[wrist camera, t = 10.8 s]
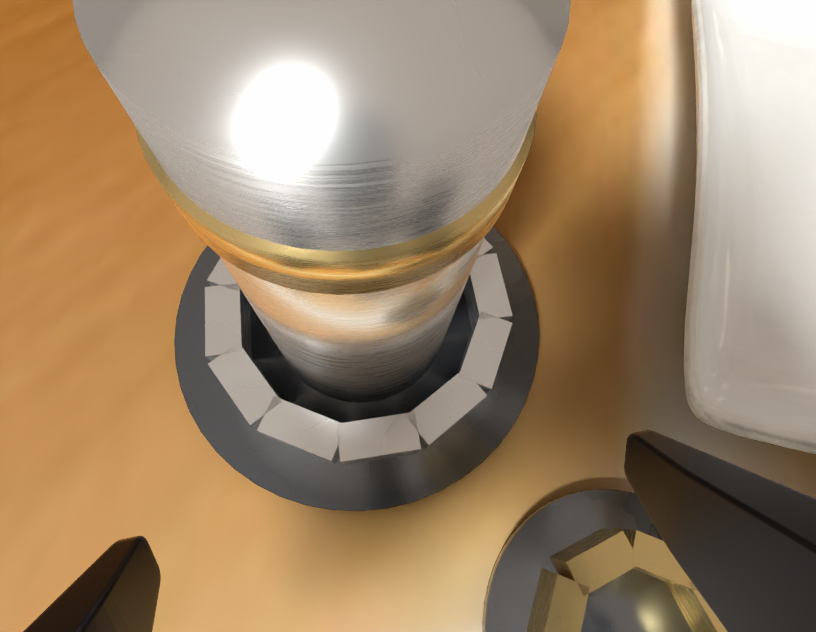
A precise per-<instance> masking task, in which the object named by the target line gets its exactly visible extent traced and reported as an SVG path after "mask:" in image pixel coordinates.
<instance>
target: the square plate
mask: <svg viewBox="0 0 816 632" xmlns="http://www.w3.org/2000/svg"><path fill="white" fill-rule="evenodd" d="M691 9H692V27H693V43H694V58H695V82H696V128H697V160H696V191H695V211H694V223H693V234H692V246H691V257H690V269H689V281H688V292H687V304H686V316H685V335H684V377H685V390H686V397H687V401H688V404H689V407H690V409H691V410H692V412H693V414H694V415H695V416H696V417H697V418H698V419H700V420H701V421H702V422H704V423H705V424H707V425H709V426H711V427H714V428H717V429H720V430H723V431H726V432H729V433H732V434H735V435H738V436H742V437H746V438H750V439H754V440H758V441H762V442H766V443H770V444H774V445H778V446H782V447H786V448H790V449H794V450H799V451H803V452H807V453H812V454H816V0H691Z"/></svg>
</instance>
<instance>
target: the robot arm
mask: <svg viewBox="0 0 816 632" xmlns="http://www.w3.org/2000/svg"><path fill="white" fill-rule="evenodd" d="M624 469H625V474H626V477H627V479H628V481H629V483H630V484H631V486H632V488H633V489H634V491H635V493H636V495H637V496H638V498H639V500H640V501H641V503H642V505H643V507H644V508H645V510H646V512H647V513H648V515H649V517H650V519H651V520H652V522H653V524H654V525H655V527H656V529H657V530H658V532H659V534H660V536H661V537H662V539H663V541H664V542H665V544H666V545H667V547H668V549H669V550H670V552H671V553H672V555H673V556H674V558H675V559H676V561H677V562H678V563H679V565H680V566H681V568H682V569H683V570H684V572H685V573H686V575H687V576H688V577H689V579H690V580H691V582H692V583H693V584H694V586H695V587H696V588H697V590H698V591H699V593H700V594H701V595H702V597H703V598H704V600H705V601H706V602H707V604H708V605H709V607H710V608H711V609H712V611H713V612H714V613H715V615H716V616H717V618H718V619H719V620H720V622H721V623H722V625H723V626H724V627H725V629H726V630H727V632H816V499H815V498H812V497H810V496H807V495H805V494H803V493H800V492H798V491H795V490H793V489H791V488H788V487H786V486H783V485H781V484H779V483H776V482H774V481H772V480H769V479H767V478H764V477H762V476H760V475H757V474H755V473H752V472H750V471H748V470H745V469H743V468H740V467H738V466H736V465H733V464H731V463H728V462H726V461H724V460H721V459H719V458H716V457H714V456H712V455H709V454H707V453H704V452H702V451H700V450H697V449H695V448H692V447H690V446H688V445H685V444H683V443H680V442H678V441H676V440H673V439H671V438H668V437H666V436H664V435H661V434H659V433H656V432H654V431H651V430H646V431H641V432H636V433H632V434H630V435H629V437H628V438H627V445H626V454H625V464H624ZM159 587H160V569H159V566H158V564H157V562H156V559H155V557H154V555H153V553H152V550H151V548H150V546H149V543H148V541H147V540H146V538H144V537H143V536H136V537H131V538H126V539H122V540H119V541H117V542H115V543H114V544H113V545H112V546H111V547H109V548H108V549H107V550H106V551H105V552H104V553H103V554H102V555H101V556H100V557H99V558H98V559H97V560H96V561H95V562H94V563H93V564H92V565H91V566H90V567H89V568H88V569H87V570H86V571H85V572H84V573H83V574H82V575H81V576H80V577H79V578H78V579H77V580H76V581H75V582H74V583H73V584H72V585H71V586H70V587H69V588H67V589H66V590H65V591H64V592H63V593H62V594H61V595H60V596H59V597H58V598H57V599H56V600H55V601H54V602H53V603H52V604H51V605H50V606H49V607H48V608H47V609H46V610H45V611H44V612H43V613H42V614H41V615H40V616H39V617H38V618H37V619H36V620H35V621H34V622H33V623H32V624H31V625H30V626H29V627H28V628H27V629H26V630H24V631H23V632H152V630H153V624H154V617H155V611H156V605H157V599H158V593H159Z"/></svg>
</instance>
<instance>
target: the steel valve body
mask: <svg viewBox="0 0 816 632" xmlns="http://www.w3.org/2000/svg"><path fill="white" fill-rule="evenodd" d="M73 7H74V14H75V20H76V23H77V26H78V29H79V32H80V35H81V37H82V40H83V43H84V45H85V46H86V48H87V50H88V52H89V53H90V55H91V57H92V58H93V60H94V62H95V63H96V65H97V67H98V68H99V70H100V71H101V73H102V75H103V76H104V78H105V79H106V81H107V82H108V84H109V85H110V87H111V89H112V90H113V92H114V93H115V95H116V96H117V98H118V99H119V101H120V102H121V104H122V106H123V107H124V109H125V110H126V112H127V113H128V115H129V116H130V118H131V120H132V121H133V123H134V124H135V126H136V130H137V136H138V140H139V142H140V145H141V148H142V150H143V153H144V156H145V159H146V160H147V162H148V164H149V165H150V167H151V169H152V171H153V172H154V174H155V176H156V177H157V179H158V181H159V182H160V183H161V185H162V186H163V188H164V189H165V191H166V192H167V194H168V195H169V197H170V198H171V200H172V201H173V203H174V204H175V205H176V207H177V208H178V210H179V211H180V213H181V214H182V216H183V217H184V219H185V220H186V222H187V223H188V224H189V225H190V227H191V228H192V229H193V230H194V232H195V233H196V234H197V235H198V236H199V238H200V239H201V240H202V241H203V242H204V243H205V244H207V245H208V246H209V247H210V248H211V249H212V250H213V251H214V252H216V253H217V254H218V255H219V256H220V258H221V259H222V261H223V263H224V264H225V266H226V267H227V269H228V270H229V272H230V273H231V275H232V277H233V278H234V280H235V281H236V283H237V284H238V286H239V287H240V289H241V291H242V292H243V294H244V295H245V297H246V298H247V300H248V301H249V303H250V305H251V306H252V308H253V309H254V311H255V312H256V314H257V315H258V317H259V319H260V320H261V322H262V323H263V325H264V326H265V328H266V329H267V331H268V333H269V334H270V336H271V337H272V339H273V340H274V342H275V343H276V345H277V347H278V348H279V350H280V351H281V353H282V354H283V356H284V357H285V359H286V360H287V362H288V364H289V365H290V367H291V368H292V370H293V371H294V372H295V373H296V374H297V376H298V377H299V378H300V379H301V380H302V381H304V382H305V383H306V384H307V385H308V386H310V387H311V388H313V389H314V390H315V391H317V392H319V393H321V394H323V395H325V396H328V397H331V398H334V399H336V400H341V401H346V402H357V403H362V402H374V401H379V400H383V399H386V398H389V397H392V396H395V395H397V394H399V393H401V392H403V391H405V390H406V389H408V388H409V387H411V386H412V385H414V384H415V383H416V382H417V381H418V380H419V379H421V378H422V376H423V375H424V374H425V373H426V372H427V371H428V369H429V368H430V367H431V365H432V364H433V362H434V360H435V358H436V356H437V354H438V352H439V350H440V347H441V345H442V342H443V340H444V337H445V335H446V332H447V330H448V327H449V325H450V322H451V320H452V317H453V315H454V312H455V310H456V307H457V305H458V302H459V300H460V297H461V295H462V292H463V290H464V288H465V285H466V283H467V280H468V278H469V275H470V273H471V270H472V268H473V265H474V263H475V260H476V258H477V255H478V253H479V250H480V248H481V245H482V243H483V240H484V238H485V235H486V234H487V233H488V232H489V231H490V230H491V228H492V227H493V225H494V224H495V222H496V221H497V220H498V218H499V217H500V215H501V214H502V212H503V209H504V207H505V205H506V203H507V201H508V199H509V197H510V195H511V193H512V190H513V188H514V186H515V183H516V181H517V179H518V176H519V174H520V172H521V169H522V167H523V165H524V162H525V160H526V158H527V155H528V153H529V150H530V147H531V143H532V140H533V137H534V133H535V124H536V116H537V106H538V104H539V101H540V99H541V96H542V94H543V91H544V89H545V86H546V84H547V81H548V79H549V76H550V74H551V71H552V69H553V66H554V64H555V61H556V59H557V56H558V54H559V51H560V49H561V46H562V44H563V40H564V37H565V34H566V30H567V27H568V23H569V13H570V0H73Z"/></svg>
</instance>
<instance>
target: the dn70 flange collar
mask: <svg viewBox="0 0 816 632" xmlns="http://www.w3.org/2000/svg"><path fill="white" fill-rule="evenodd" d="M174 342H175V360H176V368H177V373H178V377H179V382H180V387H181V390H182V393H183V395H184V398H185V401H186V403H187V406H188V409H189V411H190V413H191V415H192V416H193V418H194V420H195V422H196V424H197V425H198V427H199V429H200V431H201V432H202V434H203V435H204V436H205V438H206V439H207V440H208V441H209V443H210V444H211V445H212V447H213V448H214V449H215V451H216V452H217V453H218V454H219V455H220V456H221V457H222V458H224V459H225V460H226V461H227V462H228V463H229V464H230V465H231V466H232V467H233V468H234V469H235V470H236V471H238V472H239V473H241V474H242V475H244V476H245V477H246V478H248V479H249V480H251V481H252V482H253V483H255V484H256V485H258V486H260V487H262V488H264V489H266V490H268V491H270V492H272V493H274V494H276V495H278V496H280V497H283V498H286V499H289V500H292V501H295V502H298V503H301V504H304V505H308V506H313V507H319V508H324V509H330V510H345V511H366V510H375V509H385V508H390V507H394V506H398V505H402V504H406V503H410V502H414V501H417V500H419V499H422V498H424V497H427V496H429V495H432V494H434V493H437V492H439V491H441V490H442V489H444V488H446V487H448V486H449V485H451V484H453V483H455V482H456V481H458V480H460V479H462V478H463V477H464V476H465V475H467V474H468V473H469V472H471V471H472V470H473V469H474V468H476V467H477V466H478V465H479V464H481V463H482V462H483V461H484V460H485V459H486V458H487V457H488V456H489V455H490V454H491V453H492V452H493V451H494V450H495V449H496V448H497V446H498V445H499V444H500V443H501V442H502V440H503V439H504V437H505V436H506V435H507V433H508V432H509V431H510V429H511V428H512V426H513V425H514V423H515V421H516V420H517V418H518V416H519V414H520V412H521V410H522V408H523V406H524V404H525V402H526V399H527V397H528V394H529V391H530V388H531V385H532V383H533V379H534V374H535V369H536V364H537V359H538V344H539V331H538V317H537V312H536V307H535V302H534V297H533V293H532V291H531V288H530V285H529V282H528V279H527V276H526V274H525V272H524V270H523V268H522V266H521V264H520V262H519V260H518V258H517V256H516V255H515V253H514V252H513V250H512V249H511V248H510V246H509V245H508V243H507V242H506V240H505V239H504V238H503V237H502V235H501V234H500V233H499V232H498V231H497V230H496V229H495V227H494V226H493V227H492V228H491V230H490V231H489V232H488V233H487V234H486V235H485V238H484V240H483V243H482V245H481V248H480V250H479V253H478V255H477V258H476V260H475V263H474V265H473V268H472V270H471V273H470V275H469V278H468V280H467V283H466V285H465V288H464V290H463V292H462V295H461V297H460V300H459V302H458V305H457V307H456V310H455V312H454V315H453V317H452V320H451V322H450V325H449V327H448V330H447V332H446V335H445V337H444V340H443V342H442V345H441V347H440V350H439V352H438V354H437V356H436V358H435V360H434V362H433V364H432V365H431V367H430V368H429V369H428V371H427V372H426V373H425V374H424V375H423V376H422V378H421V379H419V380H418V381H417V382H416V383H415V384H414V385H412V386H411V387H409V388H408V389H406V390H405V391H403V392H401V393H399V394H397V395H395V396H392V397H389V398H386V399H383V400H379V401H374V402H362V403H357V402H346V401H341V400H336V399H334V398H331V397H328V396H325V395H323V394H321V393H319V392H317V391H315V390H314V389H313V388H311V387H310V386H308V385H307V384H306V383H305V382H304V381H302V380H301V379H300V378H299V377H298V376H297V374H296V373H295V372H294V371H293V370H292V368H291V367H290V365H289V364H288V362H287V360H286V359H285V357H284V356H283V354H282V353H281V351H280V350H279V348H278V347H277V345H276V343H275V342H274V340H273V339H272V337H271V336H270V334H269V333H268V331H267V329H266V328H265V326H264V325H263V323H262V322H261V320H260V319H259V317H258V315H257V314H256V312H255V311H254V309H253V308H252V306H251V305H250V303H249V301H248V300H247V298H246V297H245V295H244V294H243V292H242V291H241V289H240V287H239V286H238V284H237V283H236V281H235V280H234V278H233V277H232V275H231V273H230V272H229V270H228V269H227V267H226V266H225V264H224V263H223V261H222V259H221V258H220V256H219V255H218V254H217V253H216V252H214V251H213V250H212V249H211V248H210V247H209V246H207V247H206V248H205V250H204V251H203V253H202V254H201V255H200V257H199V259H198V261H197V263H196V264H195V266H194V268H193V270H192V272H191V274H190V276H189V278H188V281H187V283H186V286H185V289H184V291H183V294H182V297H181V301H180V305H179V309H178V314H177V318H176V329H175V340H174Z"/></svg>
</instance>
